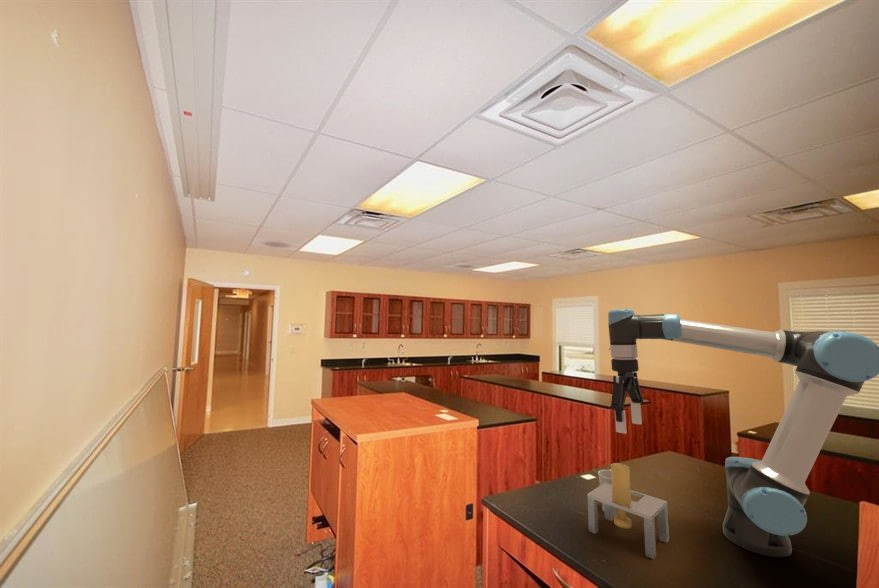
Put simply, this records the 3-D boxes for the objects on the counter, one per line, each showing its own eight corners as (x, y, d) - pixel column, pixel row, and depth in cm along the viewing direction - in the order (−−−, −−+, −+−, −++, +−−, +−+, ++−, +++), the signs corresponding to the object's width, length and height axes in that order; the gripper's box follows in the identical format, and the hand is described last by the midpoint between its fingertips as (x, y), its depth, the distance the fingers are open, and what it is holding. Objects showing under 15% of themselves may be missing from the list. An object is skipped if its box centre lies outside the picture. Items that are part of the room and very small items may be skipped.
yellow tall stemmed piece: (635, 524, 106) (632, 466, 107) (628, 531, 102) (625, 470, 104) (617, 517, 109) (615, 461, 111) (610, 523, 106) (608, 465, 108)
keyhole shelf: (669, 540, 105) (666, 501, 106) (653, 559, 97) (651, 516, 98) (607, 516, 119) (605, 481, 120) (588, 531, 110) (587, 493, 111)
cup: (598, 513, 121) (597, 476, 122) (600, 503, 128) (598, 468, 129) (625, 519, 117) (623, 480, 118) (625, 508, 124) (623, 472, 125)
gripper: (625, 355, 124) (630, 418, 122) (595, 360, 107) (600, 434, 104) (649, 356, 119) (655, 422, 116) (622, 361, 101) (628, 439, 99)
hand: (629, 428), depth 110 cm, fingers open, 13 cm apart
